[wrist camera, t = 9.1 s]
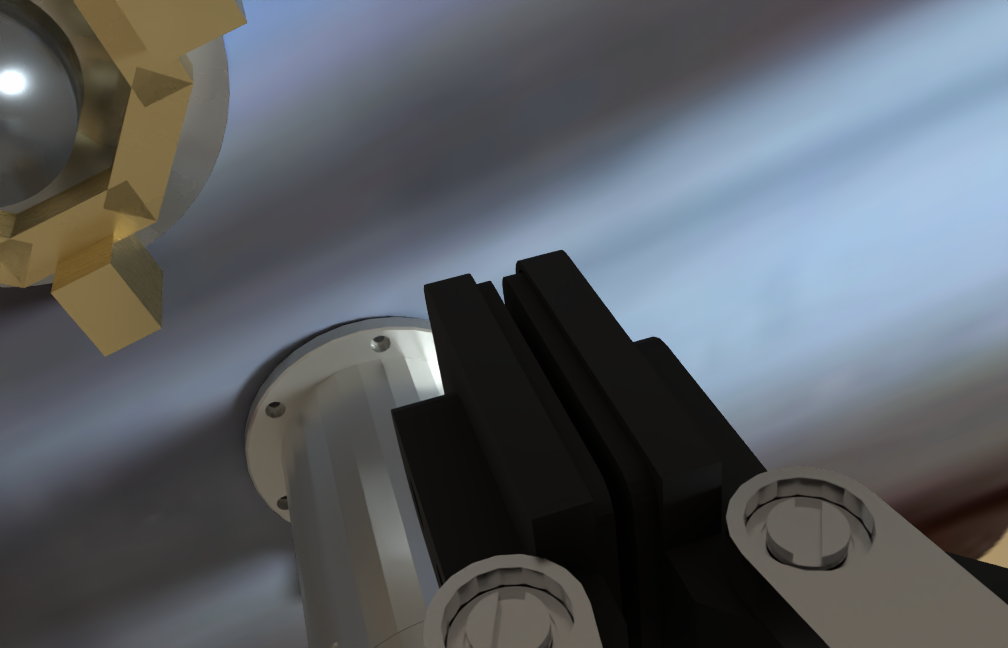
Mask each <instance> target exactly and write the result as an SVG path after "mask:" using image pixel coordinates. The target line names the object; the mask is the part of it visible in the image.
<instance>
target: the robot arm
mask: <svg viewBox="0 0 1008 648" xmlns="http://www.w3.org/2000/svg"><path fill="white" fill-rule="evenodd" d="M502 286H503V294H504V301H505V304H504V303H503V301H502V299H501V297H500V296H499V294H498V292H497V290H496V289H495V287H494V285H493V283H492V282H491V281H487V282H483V283H479V284H476V282H475V281H474V279H473V277H472V276H471V274H465V275H461V276H457V277H453V278H449V279H445V280H441V281H437V282H433V283H429V284H426V285H424V294H425V300H426V305H427V310H428V315H429V320H430V321H428V320H424V319H416V318H404V317H388V318H376V319H368V320H364V321H359V322H355V323H351V324H347V325H343V326H341V327H338V328H336V329H334V330H331V331H329V332H326V333H324V334H322V335H319V336H317V337H316V338H314V339H312V340H311V341H309V342H308V343H306V344H304V345H303V346H301V347H300V348H298V349H296V350H295V351H294V352H292V353H291V354H290V355H289V356H288V357H287V358H286V359H285V360H284V361H282V362H281V363H280V364H279V365H278V366H277V367H276V368H275V369H274V370H273V371H272V373H271V374H270V375H269V377H268V378H267V379H266V381H265V382H264V383H263V385H262V386H261V387H260V389H259V391H258V393H257V395H256V397H255V399H254V401H253V403H252V405H251V407H250V410H249V414H248V419H247V423H246V427H245V453H246V459H247V466H248V472H249V475H250V477H251V479H252V482H253V484H254V487H255V489H256V491H257V492H258V494H259V495H260V496H261V498H262V499H263V500H264V502H265V503H266V504H267V506H268V507H269V508H271V509H272V510H273V511H274V512H275V513H277V514H278V515H279V516H280V517H281V518H283V519H284V520H285V521H287V522H289V523H291V528H292V535H293V542H294V549H295V556H296V563H297V570H298V576H299V583H300V590H301V597H302V604H303V611H304V618H305V625H306V632H307V639H308V646H309V648H1008V568H1004V567H1001V566H997V565H993V564H989V563H986V562H982V561H978V560H974V559H971V558H967V557H963V556H959V555H956V554H952V553H948V552H945V551H943V550H941V549H940V548H939V547H938V546H937V545H935V544H934V543H933V542H932V541H931V540H929V539H928V538H927V537H926V536H925V535H923V534H922V533H921V532H920V531H919V530H917V529H916V528H915V527H914V526H913V525H911V524H910V523H909V522H908V521H907V520H905V519H904V518H903V517H902V516H901V515H899V514H898V513H897V512H896V511H895V510H893V509H892V508H891V507H890V506H889V505H887V504H886V503H885V502H884V501H883V500H881V499H880V498H879V497H878V496H877V495H875V494H874V493H873V492H872V491H870V490H869V489H867V488H866V487H864V486H863V485H861V484H859V483H858V482H856V481H855V480H853V479H852V478H849V477H846V476H843V475H841V474H838V473H835V472H832V471H830V470H825V469H818V468H811V467H804V466H801V467H785V468H777V469H774V470H771V471H767V470H766V469H765V468H764V466H763V465H762V464H761V463H760V461H759V460H758V459H757V458H756V456H755V455H754V454H753V453H752V451H751V450H750V449H749V447H748V446H747V445H746V444H745V442H744V441H743V440H742V439H741V437H740V436H739V435H738V434H737V432H736V431H735V430H734V429H733V427H732V426H731V425H730V424H729V422H728V421H727V420H726V419H725V417H724V416H723V415H722V414H721V412H720V411H719V410H718V409H717V407H716V406H715V405H714V404H713V402H712V401H711V400H710V399H709V397H708V396H707V395H706V394H705V392H704V391H703V390H702V389H701V387H700V386H699V385H698V384H697V382H696V381H695V380H694V379H693V377H692V376H691V375H690V374H689V372H688V371H687V370H686V369H685V367H684V366H683V365H682V364H681V362H680V361H679V360H678V359H677V357H676V356H675V355H674V354H673V352H672V351H671V350H670V349H669V347H668V346H667V345H666V344H665V343H664V342H663V341H662V340H661V339H660V338H657V337H650V338H646V339H643V340H639V341H636V342H632V340H631V339H630V338H629V336H628V335H627V334H626V332H625V331H624V330H623V328H622V327H621V326H620V324H619V323H618V322H617V320H616V319H615V318H614V316H613V315H612V314H611V312H610V311H609V310H608V308H607V307H606V306H605V304H604V303H603V302H602V300H601V299H600V298H599V296H598V295H597V294H596V292H595V291H594V290H593V288H592V287H591V286H590V284H589V283H588V282H587V280H586V279H585V278H584V276H583V275H582V273H581V272H580V271H579V269H578V268H577V267H576V265H575V264H574V263H573V261H572V260H571V259H570V257H569V256H568V255H567V253H565V252H564V251H563V250H558V251H554V252H551V253H547V254H543V255H539V256H535V257H531V258H527V259H523V260H519V261H517V263H516V274H514V275H510V276H506V277H503V280H502ZM378 336H379V337H378Z"/></svg>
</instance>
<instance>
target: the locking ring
mask: <svg viewBox="0 0 1008 648" xmlns="http://www.w3.org/2000/svg"><path fill="white" fill-rule="evenodd" d="M73 2H74V3H75V5H76V6H77V8H78V9H79V11H80V12H81V14H82V15H83V17H84V18H85V20H86V21H87V23H88V24H89V25H90V27H91V28H92V30H93V31H94V33H95V34H96V36H97V37H98V39H99V40H100V42H101V43H102V45H103V46H104V48H105V49H106V51H107V52H108V54H109V55H110V57H111V58H112V60H113V61H114V63H115V64H116V66H117V67H118V69H119V70H120V71H121V73H122V74H123V76H124V77H125V79H126V80H127V82H128V83H129V85H130V87H129V92H128V96H127V100H126V104H125V109H124V113H123V117H122V121H121V126H120V130H119V134H118V138H117V143H116V147H115V151H114V156H113V160H112V164H111V167H110V168H108V169H106V170H104V171H102V172H100V173H98V174H96V175H94V176H92V177H90V178H88V179H86V180H84V181H82V182H80V183H78V184H76V185H74V186H72V187H70V188H68V189H66V190H64V191H62V192H60V193H58V194H56V195H54V196H52V197H50V198H48V199H46V200H44V201H42V202H40V203H38V204H36V205H34V206H32V207H30V208H28V209H26V210H24V211H22V212H20V213H18V214H16V213H11V212H7V211H2V210H0V284H5V285H11V286H16V287H21V288H25V287H27V286H29V285H31V284H33V283H35V282H37V281H39V280H41V279H43V278H45V277H47V276H49V275H51V274H53V273H55V275H54V280H53V284H52V289H51V294H52V295H53V296H54V298H55V299H56V300H57V301H58V302H59V303H60V305H61V306H62V307H63V308H64V309H65V310H66V312H67V313H68V314H69V315H70V316H71V317H72V319H73V320H74V321H75V322H76V323H77V324H78V326H79V327H80V328H81V329H82V330H83V331H84V333H85V334H86V335H87V336H88V337H89V338H90V339H91V341H92V342H93V343H94V344H95V345H96V346H97V348H98V349H99V350H100V351H101V352H102V353H103V355H104V356H105V357H106V356H108V355H110V354H112V353H114V352H116V351H118V350H119V349H121V348H123V347H125V346H127V345H129V344H131V343H133V342H135V341H137V340H139V339H141V338H143V337H145V336H147V335H149V334H151V333H153V332H155V331H157V330H159V329H161V328H162V285H163V271H162V270H161V268H160V267H159V266H158V264H157V263H156V262H155V260H154V259H153V258H152V256H151V255H150V254H149V252H148V251H147V250H146V248H145V247H144V246H143V244H142V243H141V242H140V240H139V239H138V238H137V236H136V235H135V234H134V233H135V232H137V231H139V230H141V229H143V228H145V227H147V226H149V225H151V224H153V223H155V222H157V221H158V217H159V213H160V209H161V205H162V202H163V198H164V194H165V190H166V186H167V183H168V179H169V175H170V171H171V167H172V164H173V160H174V156H175V152H176V149H177V145H178V141H179V137H180V133H181V130H182V126H183V122H184V118H185V114H186V111H187V107H188V103H189V99H190V95H191V92H192V88H193V84H194V81H193V65H192V63H191V62H190V60H189V58H188V57H187V55H186V53H188V52H190V51H192V50H194V49H196V48H198V47H200V46H202V45H204V44H206V43H208V42H210V41H212V40H214V39H216V38H218V37H220V36H222V35H224V34H226V33H228V32H230V31H232V30H234V29H236V28H238V27H240V26H242V25H244V24H246V23H247V19H246V15H245V11H244V7H243V3H242V0H73Z"/></svg>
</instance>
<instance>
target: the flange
mask: <svg viewBox="0 0 1008 648" xmlns="http://www.w3.org/2000/svg"><path fill="white" fill-rule="evenodd" d="M186 55H187V57H188V58H189V60H190V62H191V63H192V65H193V81H194V84H193V88H192V92H191V95H190V99H189V103H188V107H187V111H186V114H185V118H184V122H183V126H182V130H181V133H180V137H179V141H178V145H177V149H176V152H175V156H174V160H173V164H172V167H171V171H170V175H169V179H168V183H167V186H166V190H165V194H164V198H163V202H162V205H161V209H160V213H159V217H158V221H157V222H155V223H153V224H151V225H149V226H147V227H145V228H143V229H141V230H139V231H137V232H135V233H134V234H135V235H136V236H137V238H138V239H139V240H140V242H141V243H142V244H143V246H144V247H147V246H148V245H149V244H151V243H152V242H153V241H155V240H156V239H157V238H159V237H160V236H162V235H163V234H164V233H165V232H166V231H167V230H168V229H169V228H170V227H171V226H172V225H173V224H174V223H175V222H176V221H178V220H179V219H180V218H181V217H182V216H183V214H184V213H185V212H186V210H187V209H188V208H189V207H190V205H191V204H192V203H193V202H194V200H195V199H196V198H197V196H198V195H199V193H200V192H201V190H202V188H203V186H204V185H205V183H206V181H207V179H208V178H209V176H210V174H211V172H212V170H213V167H214V165H215V162H216V159H217V157H218V154H219V152H220V149H221V146H222V142H223V137H224V133H225V129H226V124H227V117H228V106H229V75H228V62H227V56H226V51H225V46H224V40H223V35H222V36H220V37H218V38H216V39H214V40H212V41H210V42H208V43H206V44H204V45H202V46H200V47H198V48H196V49H194V50H192V51H190V52H188V53H186ZM129 87H130V85H129V83H128V82H127V80H126V79H125V77H124V76H123V74H122V73H121V71H120V70H119V69H118V67H117V66H116V64H115V63H114V61H113V60H112V58H111V57H110V55H109V54H108V52H107V51H106V49H105V48H104V46H103V45H102V43H101V42H100V40H99V39H98V37H97V36H96V34H95V33H94V31H93V30H92V28H91V27H90V25H89V24H88V23H87V21H86V20H85V18H84V17H83V15H82V14H81V12H80V11H79V9H78V8H77V6H76V5H75V3H74V2H73V0H0V210H2V211H7V212H11V213H16V214H18V213H20V212H22V211H24V210H26V209H28V208H30V207H32V206H34V205H36V204H38V203H40V202H42V201H44V200H46V199H48V198H50V197H52V196H54V195H56V194H58V193H60V192H62V191H64V190H66V189H68V188H70V187H72V186H74V185H76V184H78V183H80V182H82V181H84V180H86V179H88V178H90V177H92V176H94V175H96V174H98V173H100V172H102V171H104V170H106V169H108V168H110V167H111V164H112V160H113V156H114V151H115V147H116V143H117V138H118V134H119V130H120V126H121V121H122V117H123V113H124V109H125V104H126V100H127V96H128V92H129ZM54 275H55V273H53V274H51V275H49V276H47V277H45V278H43V279H41V280H39V281H37V282H35V283H33V284H31V285H29V286H37V285H43V284H50V283H53V280H54ZM0 287H16V286H11V285H5V284H0Z"/></svg>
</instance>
